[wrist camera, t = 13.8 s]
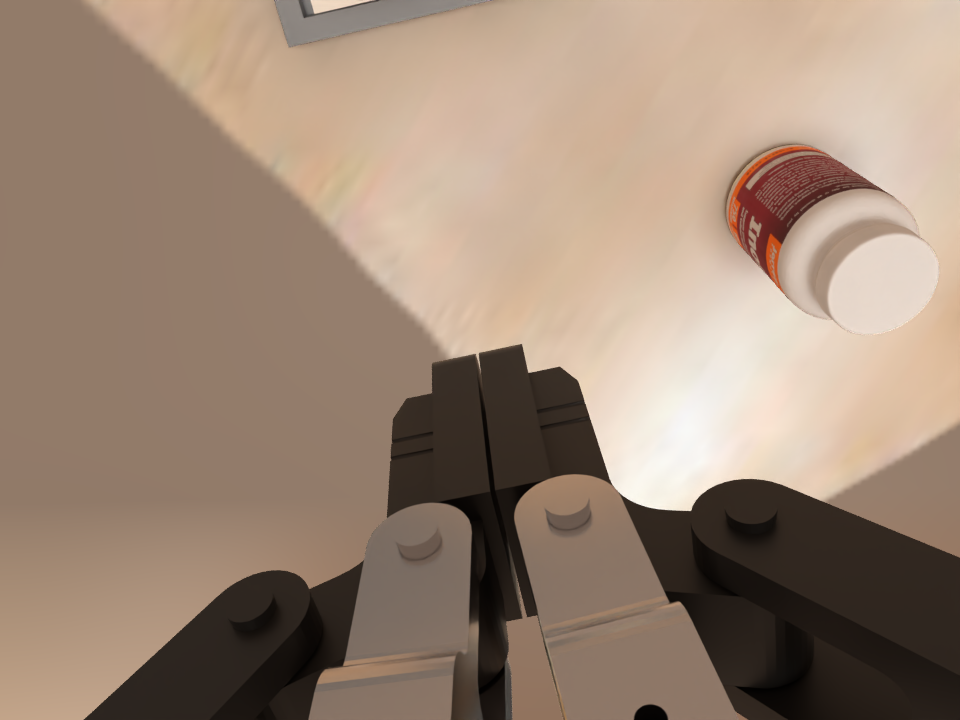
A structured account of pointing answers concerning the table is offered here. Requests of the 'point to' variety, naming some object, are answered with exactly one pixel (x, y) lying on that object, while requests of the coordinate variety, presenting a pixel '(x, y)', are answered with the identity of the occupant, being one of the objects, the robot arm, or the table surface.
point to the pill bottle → (832, 240)
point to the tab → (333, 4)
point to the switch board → (354, 16)
